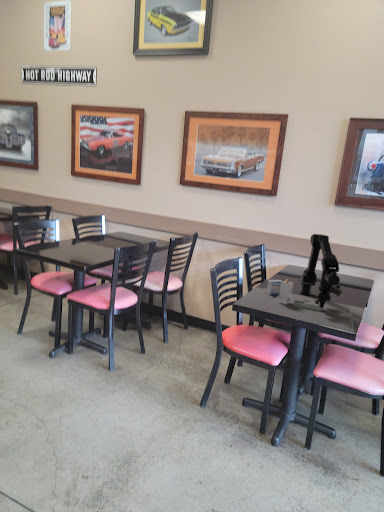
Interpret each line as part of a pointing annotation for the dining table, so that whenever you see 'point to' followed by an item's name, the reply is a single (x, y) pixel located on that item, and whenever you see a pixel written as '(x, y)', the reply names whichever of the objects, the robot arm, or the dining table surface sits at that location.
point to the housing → (285, 292)
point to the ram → (312, 302)
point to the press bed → (301, 304)
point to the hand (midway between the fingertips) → (321, 307)
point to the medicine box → (273, 287)
